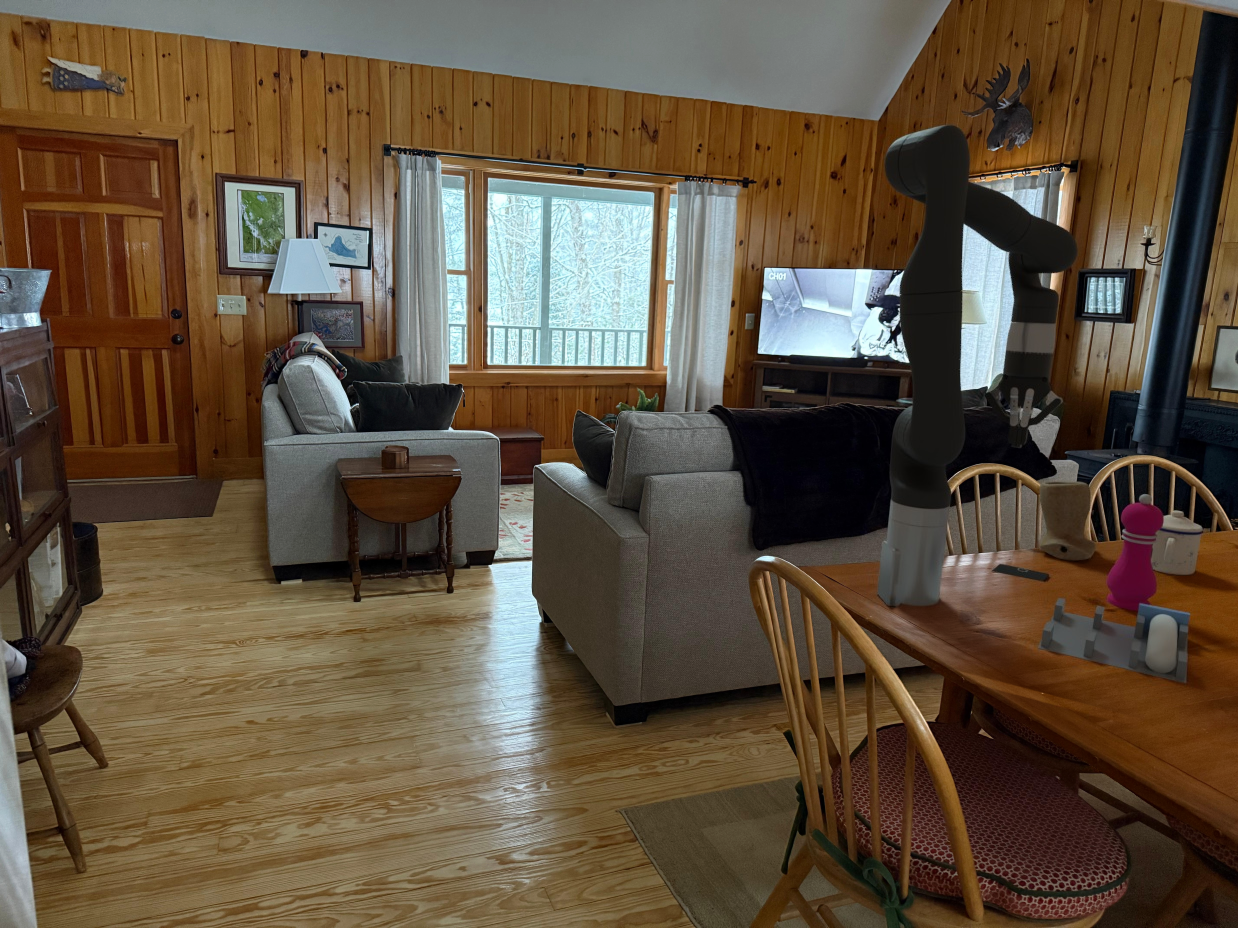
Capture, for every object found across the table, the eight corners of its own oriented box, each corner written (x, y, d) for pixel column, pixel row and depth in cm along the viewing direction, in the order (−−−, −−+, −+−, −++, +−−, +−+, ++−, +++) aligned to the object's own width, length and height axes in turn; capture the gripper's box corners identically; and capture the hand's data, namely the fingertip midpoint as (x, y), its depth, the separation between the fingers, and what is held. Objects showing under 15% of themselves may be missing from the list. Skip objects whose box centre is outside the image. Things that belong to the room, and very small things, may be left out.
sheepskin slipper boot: (1037, 538, 183) (1046, 472, 180) (1098, 549, 176) (1109, 480, 173) (1023, 554, 171) (1033, 483, 168) (1089, 566, 164) (1100, 492, 161)
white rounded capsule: (1170, 677, 113) (1179, 654, 112) (1141, 666, 115) (1150, 643, 114) (1172, 640, 126) (1181, 619, 125) (1146, 630, 128) (1155, 610, 127)
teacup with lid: (1143, 558, 171) (1153, 503, 169) (1197, 568, 166) (1207, 511, 163) (1136, 572, 162) (1146, 514, 159) (1193, 583, 156) (1203, 523, 154)
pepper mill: (1159, 619, 137) (1180, 501, 133) (1111, 614, 138) (1130, 497, 134) (1142, 603, 144) (1161, 491, 140) (1096, 599, 145) (1114, 487, 141)
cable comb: (1185, 689, 111) (1191, 654, 110) (1036, 654, 121) (1041, 621, 120) (1186, 644, 127) (1191, 613, 126) (1054, 616, 137) (1059, 587, 136)
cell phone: (1049, 578, 157) (1049, 573, 157) (1026, 603, 143) (1027, 598, 143) (999, 567, 163) (1000, 563, 162) (972, 590, 149) (973, 585, 148)
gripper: (984, 347, 146) (972, 444, 149) (1069, 352, 139) (1054, 454, 142) (993, 346, 152) (981, 439, 156) (1074, 351, 145) (1060, 449, 148)
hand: (1016, 446), depth 149 cm, fingers closed
